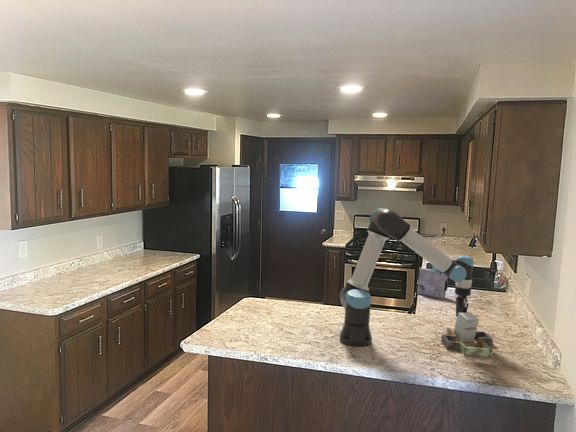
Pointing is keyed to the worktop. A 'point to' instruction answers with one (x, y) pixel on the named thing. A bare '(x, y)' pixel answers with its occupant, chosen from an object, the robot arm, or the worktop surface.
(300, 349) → the worktop surface
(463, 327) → the supplement box
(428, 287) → the cake pan box
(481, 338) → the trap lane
